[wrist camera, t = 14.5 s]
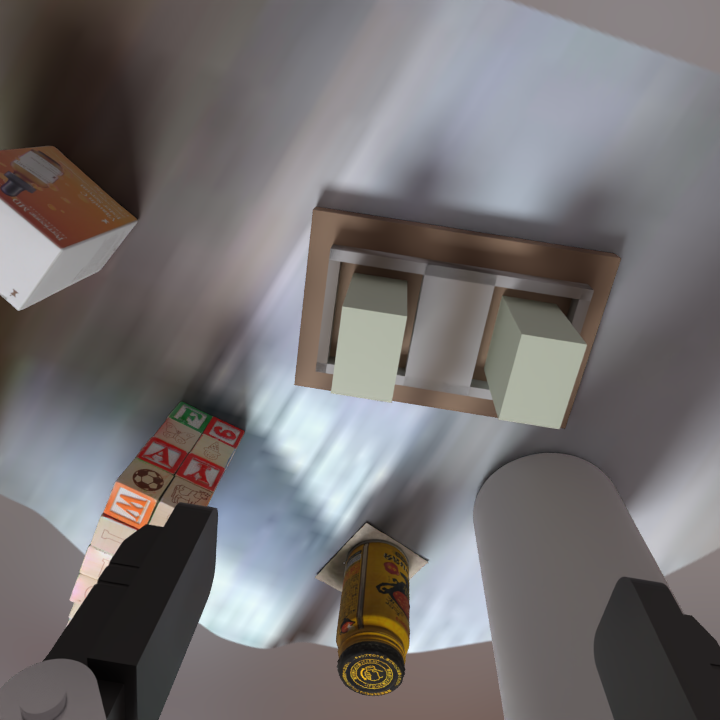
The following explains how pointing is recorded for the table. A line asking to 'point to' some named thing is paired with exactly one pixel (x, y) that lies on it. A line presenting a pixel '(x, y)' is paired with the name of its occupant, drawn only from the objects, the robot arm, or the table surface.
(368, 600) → the condiment
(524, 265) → the tray
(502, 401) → the block
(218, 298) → the table surface
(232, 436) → the stack of blocks
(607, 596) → the cylinder vase
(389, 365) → the loose block
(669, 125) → the table surface
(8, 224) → the small box
